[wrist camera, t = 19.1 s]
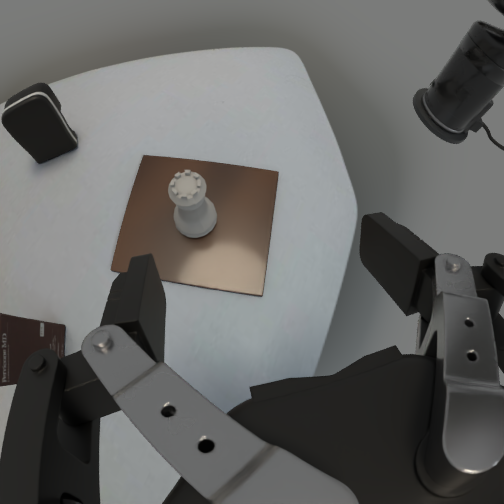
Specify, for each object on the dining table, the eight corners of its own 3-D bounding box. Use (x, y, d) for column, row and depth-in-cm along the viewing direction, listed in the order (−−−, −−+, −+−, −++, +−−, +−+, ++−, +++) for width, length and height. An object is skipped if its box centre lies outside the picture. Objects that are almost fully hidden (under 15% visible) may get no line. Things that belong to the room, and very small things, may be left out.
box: (67, 377, 27) (-2, 389, 15) (37, 369, 26) (-33, 375, 15) (69, 323, 28) (-1, 312, 17) (38, 318, 28) (-32, 305, 16)
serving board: (278, 173, 34) (278, 171, 34) (262, 296, 30) (262, 296, 30) (144, 157, 34) (143, 154, 33) (111, 271, 30) (110, 270, 30)
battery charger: (79, 127, 35) (46, 73, 24) (79, 148, 34) (42, 93, 23) (39, 145, 34) (1, 97, 23) (37, 166, 33) (-6, 119, 22)
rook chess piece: (225, 226, 32) (223, 191, 24) (187, 247, 31) (172, 218, 23) (204, 192, 32) (197, 151, 25) (168, 212, 32) (150, 175, 24)
